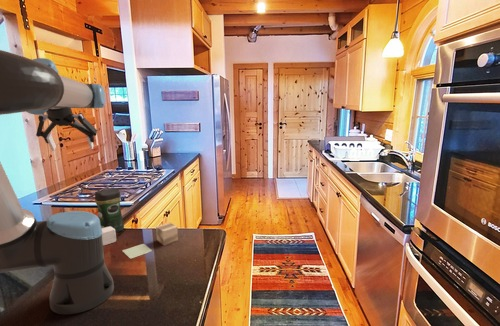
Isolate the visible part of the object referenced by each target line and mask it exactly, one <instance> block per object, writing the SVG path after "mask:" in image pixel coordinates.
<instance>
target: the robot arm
mask: <svg viewBox="0 0 500 326" xmlns="http://www.w3.org/2000/svg"><path fill="white" fill-rule="evenodd" d="M56 66H57V65H56V64H55V62H54V61H53V60H51V59H49V58H45V57H41V58H40V57H39V58H33V59H32V58H28V57H25V56H22V55H19V54H17V53H16V54H15V53H12V52H9V51H6V50H1V49H0V116H1V115H10V114H11V115H12V114H17V113H29V114H30V115H34V116H37V117H38V126H37V130H36V134H35V136H36V137H38V138H39V137H42V138H43V139H44V142H45V144H49V147H50V148H51V151H53V152H54V151H56V148H57V145H56V143H55V139H54V138H53V136H52V133H51V132H52V131H53V129H55V127H56V126H59V127H63V126H64V127H71V128H74V129H76V130H77V131H79V132H81V133H82V134H84V135H86V140H87V143H88V146H89V149H90V150H94V142H95V136H97V134H98V129H97V128H96V127H95V126H94V125H92V123H90V121H88V119H86V118H85V116H84V114H83V112H79V113H78V114H74V112H73V110H72V109H103V108H104V107H105V105H106V93H105V89H104V87H103V85H101V84H99V83H97V84H96V83H83V82H80V81H78V80H74V79H72V78H69V77H67V76H64V75H61V74H60V73H59V70H58V69H57V67H56ZM47 119H48V120H49V121H51V123H50V124H49V125H48V126H47V127H46V129H45V130H44V131H43V128H44V125H45V122H46V121H47ZM45 267H46V268H49V267H52V268H53V273H54V277H53V281H52V284H51V285H52V286H51V289H50V294H49V298H48V301H49V307H50V310H51V311H52V312H53V313H55V314H59V315H75V314H79V313H83V312H87V311H89V310H91V309H94V308H96V307H98V306H100V305H101V304H103V303H104V302H106V301H107V300H108V298H110V297H111V296H112V295H113V293H114V290H115V285H114V284H115V283H114V279H113V276H112V275H111V273H110V271H109V269H108V267H107V265H106V263H105V254H104V245H103V241H102V229H101V225H100V220H99V218H98V215H96V214H95V213H94V212H93V213H92V212H90V211H83V210H69V211H65V212H62V211H61V212H57V213H54V214H52V215H50V216H49V217H48V218H47V220H40V221H39V220H38V221H37V219H36V216H35V214H34V213H33V212H32V211H31V210H29V209H25V208H23V207H22V205H21V203H20V201H19V198H18V197H17V194H16V193H15V190H14V188H13V186H12V183H11V182H10V179H9V177H8V175H7V174H6V171H5V169H4V167H3V164H2V163H1V161H0V274H5V273H9V272H16V271H24V270H31V269H32V270H33V269H40V268H45Z"/></svg>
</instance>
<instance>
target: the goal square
mask: <svg viewBox="0 0 500 326" xmlns="http://www.w3.org/2000/svg"><path fill="white" fill-rule="evenodd" d="M121 251H122V253H124V254H125V255H126V256H127V257H128V258H129V259H130V260H131V259H132V260H133V259H134V258H136V257H139V256H140V257H141V256H144V255H145V254H149V253H151V252H153V250H152V248H150V247H148V246H147V245H146V244H145V243H142V244H141V243H140V244H138V245H135V246H132V247H129V248H126V249H123V250H121Z"/></svg>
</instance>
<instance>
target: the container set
mask: <svg viewBox="0 0 500 326" xmlns="http://www.w3.org/2000/svg"><path fill="white" fill-rule="evenodd" d="M102 241H103V246H107V245H109V244H112V243H116V242H117V232H115V229H114V228H112V227H111V226H109V227H105V228H102Z"/></svg>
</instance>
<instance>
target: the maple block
mask: <svg viewBox="0 0 500 326" xmlns="http://www.w3.org/2000/svg"><path fill="white" fill-rule="evenodd" d="M155 230H156V231H155V233H156V241H157V242H158V243H160V244H161V245H162V246H164V247H165V246H168V245H171V244H174V243H177V242H178V241H179V231H178V230H179V228H178V226H176V225H175V224H173V223H172V222H168V223H163V224H161V225H157V226H156V227H155Z"/></svg>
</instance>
